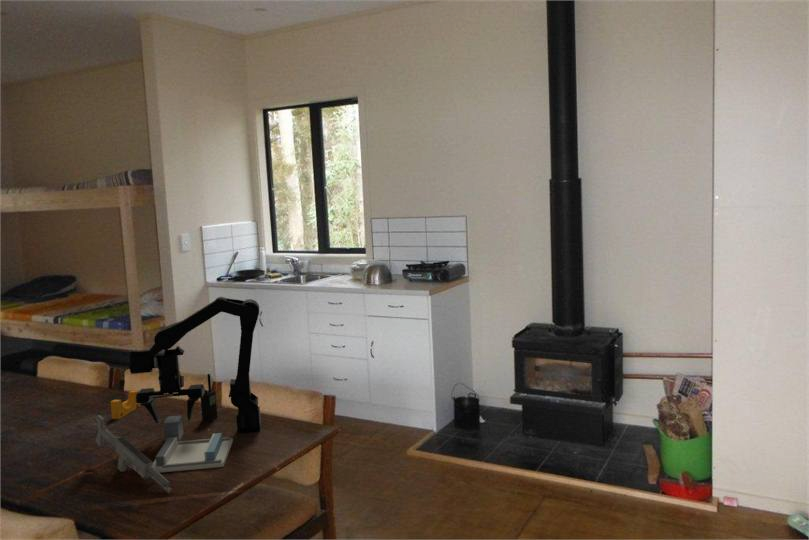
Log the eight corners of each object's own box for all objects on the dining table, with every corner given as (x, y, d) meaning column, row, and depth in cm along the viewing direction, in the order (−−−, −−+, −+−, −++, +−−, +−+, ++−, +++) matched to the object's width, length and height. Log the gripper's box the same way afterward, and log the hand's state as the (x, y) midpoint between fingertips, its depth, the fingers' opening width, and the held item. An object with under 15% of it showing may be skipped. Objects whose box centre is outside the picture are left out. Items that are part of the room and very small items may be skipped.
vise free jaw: (222, 441, 188) (222, 432, 188) (214, 460, 174) (213, 451, 174) (213, 442, 188) (213, 433, 188) (205, 461, 174) (204, 452, 174)
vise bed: (232, 441, 191) (231, 430, 190) (223, 466, 173) (222, 454, 172) (165, 447, 188) (164, 435, 188) (148, 473, 171) (147, 460, 170)
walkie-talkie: (210, 423, 207) (206, 377, 206) (201, 422, 208) (197, 376, 207) (218, 418, 212) (215, 373, 210) (210, 417, 213) (206, 372, 211)
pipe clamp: (129, 408, 227) (127, 390, 226) (140, 408, 226) (138, 390, 225) (107, 420, 215) (105, 401, 214) (119, 420, 214) (117, 401, 214)
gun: (176, 510, 161) (178, 475, 159) (163, 515, 159) (165, 480, 156) (105, 444, 183) (105, 412, 180) (92, 448, 180) (93, 416, 177)
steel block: (183, 434, 199) (181, 415, 198) (179, 441, 193) (177, 422, 192) (169, 435, 198) (168, 416, 197) (165, 443, 192) (163, 423, 191)
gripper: (206, 361, 202) (210, 410, 204) (143, 365, 200) (148, 415, 202) (199, 370, 191) (203, 422, 193) (132, 375, 189) (137, 427, 191)
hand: (173, 421), depth 195 cm, fingers open, 9 cm apart
